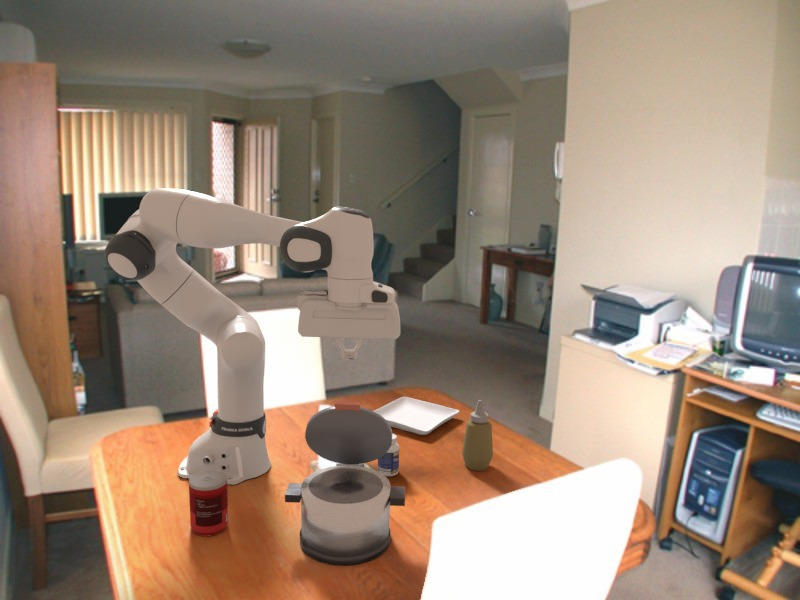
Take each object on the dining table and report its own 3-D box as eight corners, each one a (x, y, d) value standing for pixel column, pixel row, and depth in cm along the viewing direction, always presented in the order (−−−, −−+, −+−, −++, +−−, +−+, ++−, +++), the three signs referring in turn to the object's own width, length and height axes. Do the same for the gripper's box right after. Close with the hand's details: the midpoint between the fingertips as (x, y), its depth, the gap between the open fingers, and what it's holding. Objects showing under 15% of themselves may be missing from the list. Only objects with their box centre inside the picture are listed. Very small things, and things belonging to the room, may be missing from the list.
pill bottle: (396, 478, 162) (397, 441, 160) (375, 475, 163) (376, 439, 161) (400, 468, 167) (401, 433, 165) (380, 466, 168) (381, 430, 166)
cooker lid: (301, 404, 128) (302, 398, 129) (308, 463, 141) (309, 457, 142) (392, 407, 128) (392, 401, 129) (391, 465, 141) (391, 459, 142)
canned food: (213, 513, 143) (212, 466, 141) (236, 526, 138) (235, 478, 136) (182, 527, 137) (180, 478, 135) (204, 541, 132) (203, 491, 130)
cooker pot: (278, 563, 126) (278, 506, 123) (295, 511, 145) (295, 460, 143) (403, 567, 126) (405, 510, 123) (403, 515, 145) (405, 464, 142)
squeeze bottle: (489, 459, 174) (493, 395, 171) (494, 473, 166) (499, 406, 163) (459, 459, 174) (462, 395, 170) (463, 473, 166) (466, 406, 162)
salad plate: (460, 419, 203) (461, 409, 202) (426, 442, 185) (427, 430, 184) (402, 405, 214) (403, 395, 213) (365, 425, 196) (365, 414, 195)
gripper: (294, 292, 125) (294, 361, 127) (401, 295, 125) (399, 364, 127) (299, 286, 131) (299, 352, 133) (401, 289, 131) (399, 355, 133)
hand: (349, 358), depth 130 cm, fingers closed
